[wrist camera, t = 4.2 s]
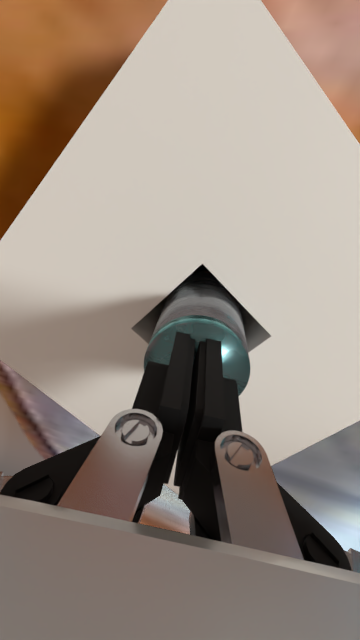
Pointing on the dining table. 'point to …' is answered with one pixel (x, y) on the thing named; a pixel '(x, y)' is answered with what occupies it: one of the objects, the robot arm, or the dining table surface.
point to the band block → (197, 229)
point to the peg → (203, 324)
